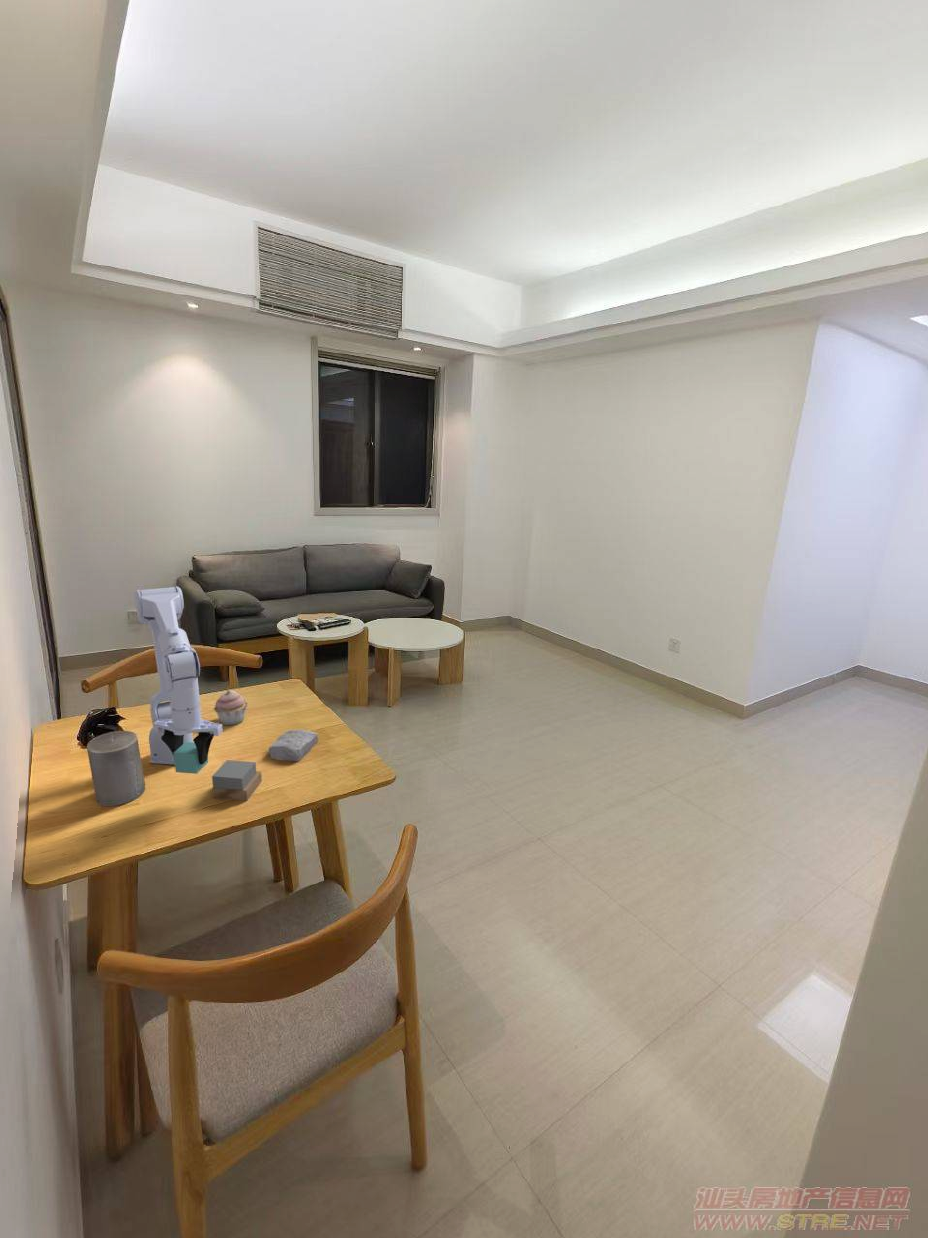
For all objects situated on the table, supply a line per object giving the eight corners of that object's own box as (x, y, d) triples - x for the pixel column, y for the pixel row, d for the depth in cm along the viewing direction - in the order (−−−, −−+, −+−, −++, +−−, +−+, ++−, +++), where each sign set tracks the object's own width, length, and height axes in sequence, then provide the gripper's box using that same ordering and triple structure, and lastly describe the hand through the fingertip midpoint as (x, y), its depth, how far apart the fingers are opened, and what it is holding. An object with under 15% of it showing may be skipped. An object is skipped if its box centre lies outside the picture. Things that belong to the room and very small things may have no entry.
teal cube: (175, 772, 122) (173, 752, 121) (187, 760, 127) (185, 742, 125) (196, 773, 122) (194, 754, 120) (208, 762, 126) (206, 743, 125)
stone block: (266, 764, 145) (301, 763, 142) (262, 747, 144) (297, 746, 141) (289, 744, 156) (321, 742, 154) (285, 728, 155) (318, 726, 153)
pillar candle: (113, 781, 132) (104, 724, 127) (154, 783, 131) (145, 726, 127) (85, 806, 122) (74, 746, 118) (129, 808, 122) (119, 748, 118)
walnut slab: (213, 799, 127) (212, 788, 126) (229, 780, 135) (228, 769, 134) (247, 802, 126) (246, 790, 126) (262, 782, 134) (261, 771, 133)
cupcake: (213, 717, 165) (210, 686, 162) (246, 711, 169) (244, 681, 166) (216, 731, 157) (213, 698, 154) (251, 724, 161) (248, 693, 158)
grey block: (213, 787, 126) (211, 776, 125) (228, 771, 133) (227, 760, 132) (242, 790, 126) (241, 778, 125) (256, 773, 132) (255, 762, 132)
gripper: (141, 711, 117) (149, 768, 121) (208, 715, 116) (214, 773, 120) (161, 697, 123) (168, 751, 127) (225, 701, 123) (229, 756, 126)
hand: (191, 761), depth 124 cm, fingers closed on teal cube, 5 cm apart
